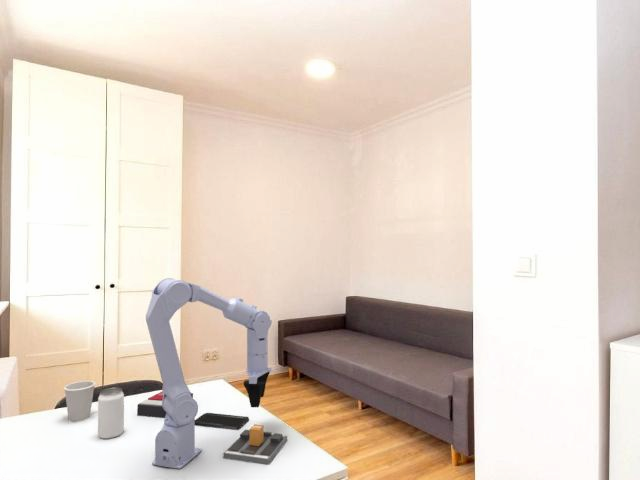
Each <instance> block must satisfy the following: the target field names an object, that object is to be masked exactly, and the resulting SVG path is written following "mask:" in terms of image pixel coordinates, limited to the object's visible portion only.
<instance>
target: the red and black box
mask: <svg viewBox="0 0 640 480" xmlns="http://www.w3.org/2000/svg"><path fill="white" fill-rule="evenodd" d="M190 394H191V396H192V398H193V399H194V393H192V392H191V391H190ZM162 400H163V391H160V392H158V393H156V394H154V395H152V396H150V397H148V398H147V399H145V400H143V401H141V402H139V403H137V406H136V407H137V409H136V413H137V414H136V416H137V417H147V418H157V419H158V418H159V419H165V416H166V411H165V410H164V409H163V407H162Z"/></svg>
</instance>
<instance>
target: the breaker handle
mask: <svg viewBox="0 0 640 480" xmlns="http://www.w3.org/2000/svg"><path fill="white" fill-rule="evenodd" d="M249 430H250V445H254V446H260V444H261V443H262V442H263V441H264V432H265V429H264V425H263V424H257V423H254V424H253V425H252V426H251V427H250V428H249Z"/></svg>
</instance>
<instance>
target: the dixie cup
mask: <svg viewBox="0 0 640 480" xmlns="http://www.w3.org/2000/svg"><path fill="white" fill-rule="evenodd" d="M95 386H96V382H95V381H92V380H80V381H75V382H71V383H68V384H66V385H65V386H64V387H63V390H64V393H65V403H66V408H67V410H66V411H67V417H68V421H69V422H81V421H85V420H87V419H89V418H90V417H91V412H92V404H93V398H94V390H95Z"/></svg>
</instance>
